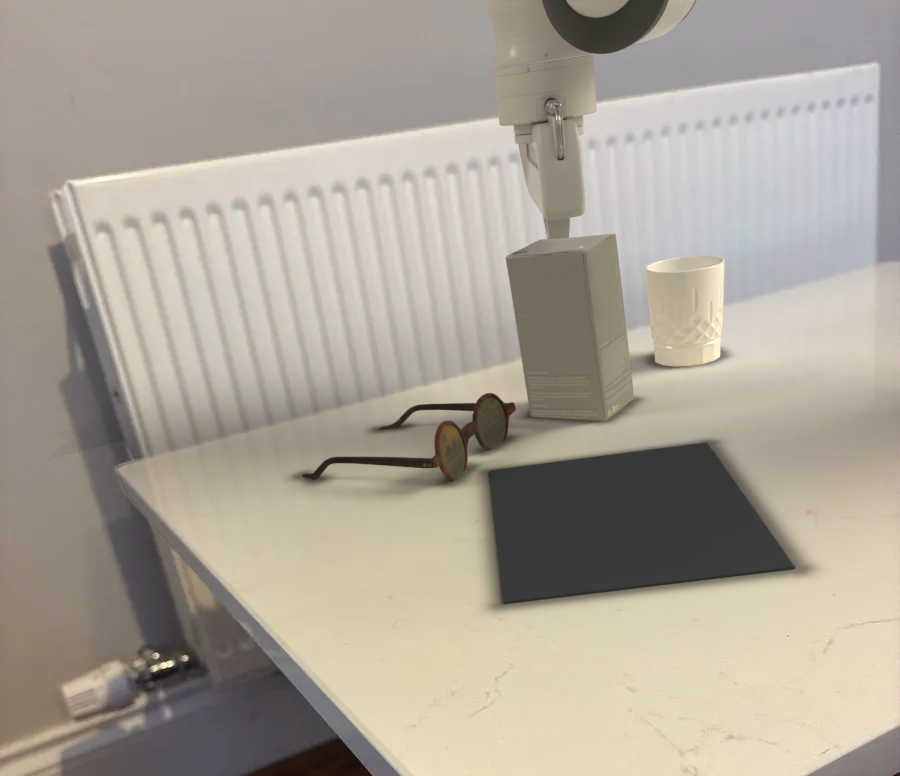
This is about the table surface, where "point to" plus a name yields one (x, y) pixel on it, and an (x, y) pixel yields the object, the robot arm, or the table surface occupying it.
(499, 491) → the mat
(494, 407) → the eyeglasses
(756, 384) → the table surface
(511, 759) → the table surface
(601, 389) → the cosmetic box
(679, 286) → the white cup
